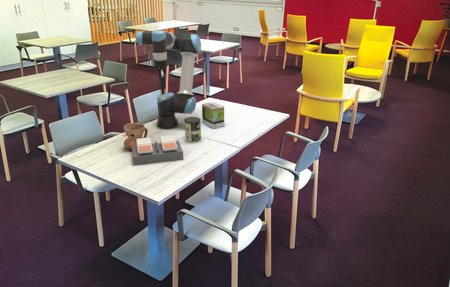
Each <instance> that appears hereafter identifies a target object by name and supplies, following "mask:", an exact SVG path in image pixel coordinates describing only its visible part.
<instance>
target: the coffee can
mask: <svg viewBox="0 0 450 287" xmlns="http://www.w3.org/2000/svg"><path fill="white" fill-rule="evenodd" d="M183 120H184V131H185V132H184V133H185V134H184V135H185V139H184V140H185V142H187V143H192V144H195V143H199V142H201V141H202V132H201V130H202V129H201V121H202V119H201V118H200V117H198V116H189V117H185V118H184V119H183Z"/></svg>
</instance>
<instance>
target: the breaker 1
mask: <svg viewBox="0 0 450 287" xmlns="http://www.w3.org/2000/svg"><path fill="white" fill-rule="evenodd" d="M136 140H137V148H138V154H142V153H151V152H153V150H152V144H153V143H152V139H151V137H146V138H139V139H136Z"/></svg>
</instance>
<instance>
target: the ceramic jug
mask: <svg viewBox="0 0 450 287" xmlns="http://www.w3.org/2000/svg"><path fill="white" fill-rule="evenodd" d="M123 130H124V133H122V137H127V138H126V139H125V140H124V141H123V146H124V147H125V148H126V149H127V150H131V151H132V146H136V145H137V140H136V139H139V138H148V133H149V132H148V128H147V127H146V126H145V124H144V123H140V122H132V123H126V124H125V125H124V126H123Z"/></svg>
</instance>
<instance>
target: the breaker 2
mask: <svg viewBox="0 0 450 287" xmlns="http://www.w3.org/2000/svg"><path fill="white" fill-rule="evenodd" d="M176 141H177V140H176V139H175V135H174V134H171V135H168V134H167V135H160V143H161V144H162V147H163V151H169V150H177V145H176Z"/></svg>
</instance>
